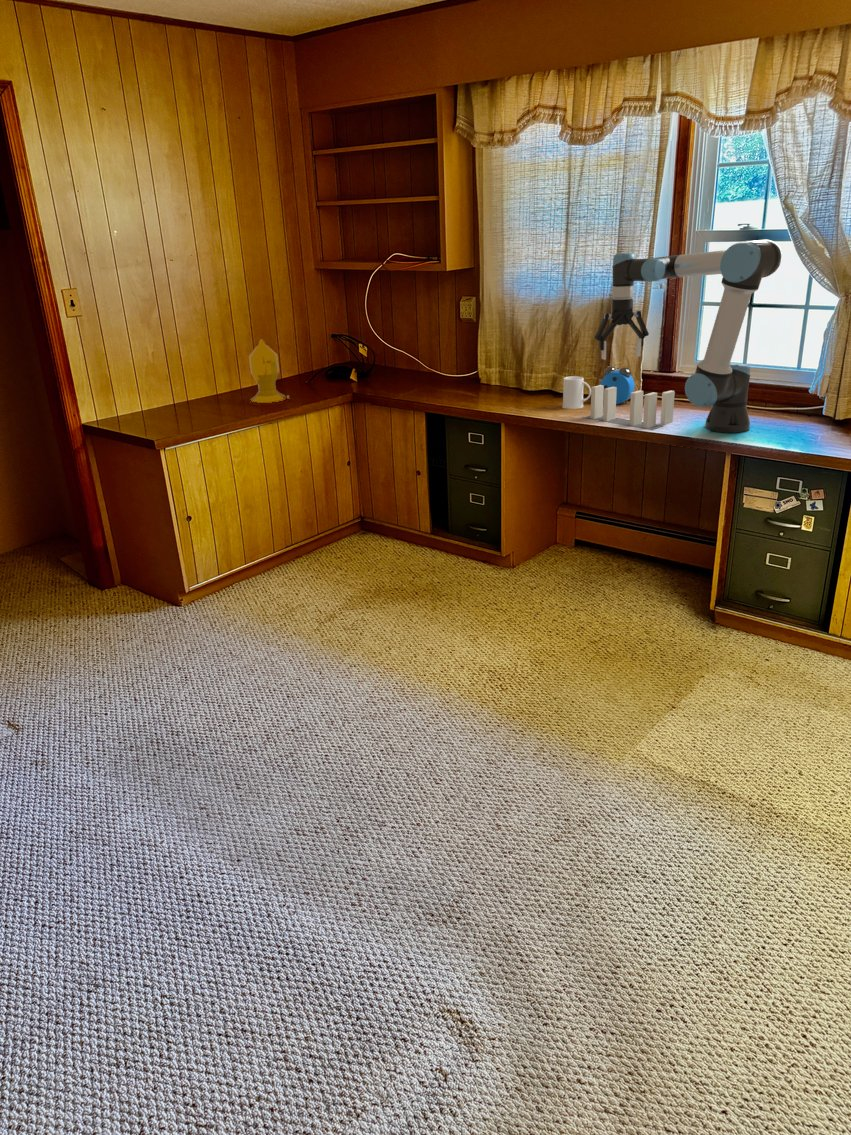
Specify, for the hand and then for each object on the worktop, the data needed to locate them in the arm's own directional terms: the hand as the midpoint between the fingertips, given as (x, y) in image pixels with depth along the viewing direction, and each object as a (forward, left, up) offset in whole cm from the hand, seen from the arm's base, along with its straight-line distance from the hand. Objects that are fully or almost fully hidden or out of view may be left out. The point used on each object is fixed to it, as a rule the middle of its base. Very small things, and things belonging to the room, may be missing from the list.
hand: (621, 357), depth 313 cm
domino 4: (-17, +4, -23) cm, 29 cm away
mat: (-5, +4, -23) cm, 24 cm away
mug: (+25, -6, -23) cm, 35 cm away
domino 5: (-19, -4, -23) cm, 30 cm away
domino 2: (+1, +4, -23) cm, 23 cm away
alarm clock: (+17, -22, -23) cm, 36 cm away
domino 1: (+7, +4, -23) cm, 24 cm away
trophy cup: (+144, +66, -23) cm, 160 cm away
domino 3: (-11, +4, -23) cm, 26 cm away
